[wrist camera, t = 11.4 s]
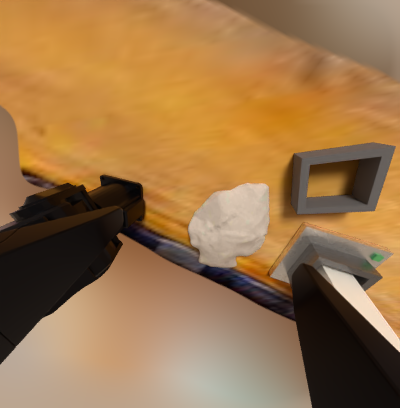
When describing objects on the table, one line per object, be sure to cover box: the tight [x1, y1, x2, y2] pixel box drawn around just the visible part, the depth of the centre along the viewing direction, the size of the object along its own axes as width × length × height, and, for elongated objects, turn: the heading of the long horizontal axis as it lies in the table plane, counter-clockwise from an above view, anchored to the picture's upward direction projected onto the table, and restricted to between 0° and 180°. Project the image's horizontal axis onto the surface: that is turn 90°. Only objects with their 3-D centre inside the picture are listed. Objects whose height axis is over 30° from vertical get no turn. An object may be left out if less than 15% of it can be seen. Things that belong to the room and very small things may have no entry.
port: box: [269, 222, 394, 291], centre depth 20 cm, size 10×10×4 cm
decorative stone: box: [188, 183, 270, 268], centre depth 21 cm, size 11×4×15 cm
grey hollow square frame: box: [291, 143, 396, 214], centre depth 16 cm, size 7×6×2 cm
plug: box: [317, 264, 400, 352], centre depth 16 cm, size 4×3×12 cm
